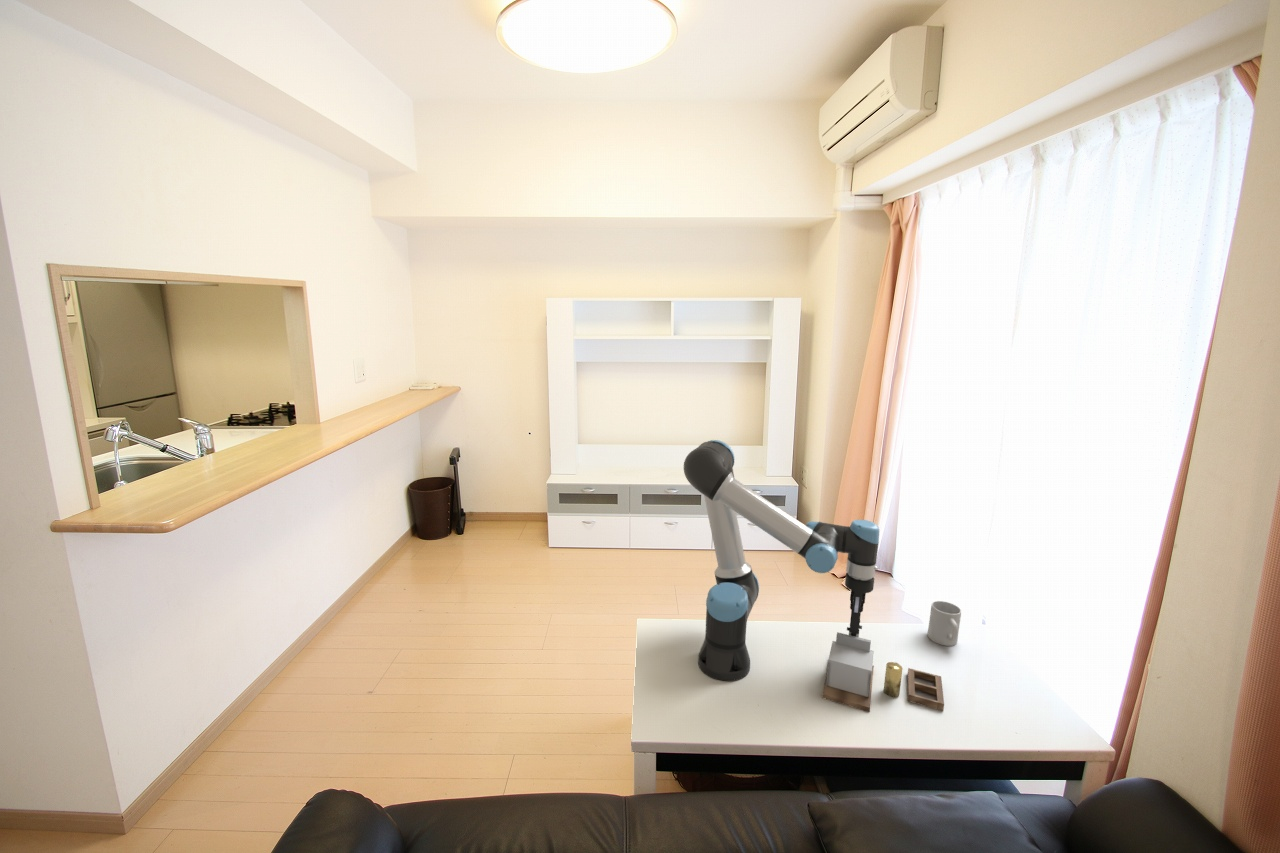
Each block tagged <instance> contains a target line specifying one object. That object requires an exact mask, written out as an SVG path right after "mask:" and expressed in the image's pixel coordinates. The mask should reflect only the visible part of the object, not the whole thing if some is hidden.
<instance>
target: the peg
mask: <svg viewBox="0 0 1280 853" xmlns="http://www.w3.org/2000/svg"><path fill="white" fill-rule="evenodd" d="M903 670H904V669H903V666H902V665H901V664H900V663H897V662H895V661H894V662H893V661H889V662H887V663H886V665H885V675H884V684H883V690H882V691H883V693H884V694H885V695H886V696H888V697H890V698H894V699H895V698H898V697H900V692H901V684H902V677H903V676H902V675H903Z"/></svg>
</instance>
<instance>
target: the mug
mask: <svg viewBox="0 0 1280 853" xmlns="http://www.w3.org/2000/svg"><path fill="white" fill-rule="evenodd" d="M961 617H962V609H961V608H960V607H958V605H956V604H954V603H950V602H948V601H943V600H937V601H932V603H931V607H930V614H929V620H928V628H927V636H928V638H929V640H931V641H932V642H934V643H935V644H939V645H940V646H945V647H946V646H947V647H953V646H955V645H957V643H958V638H959V630H960V624H961Z"/></svg>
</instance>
